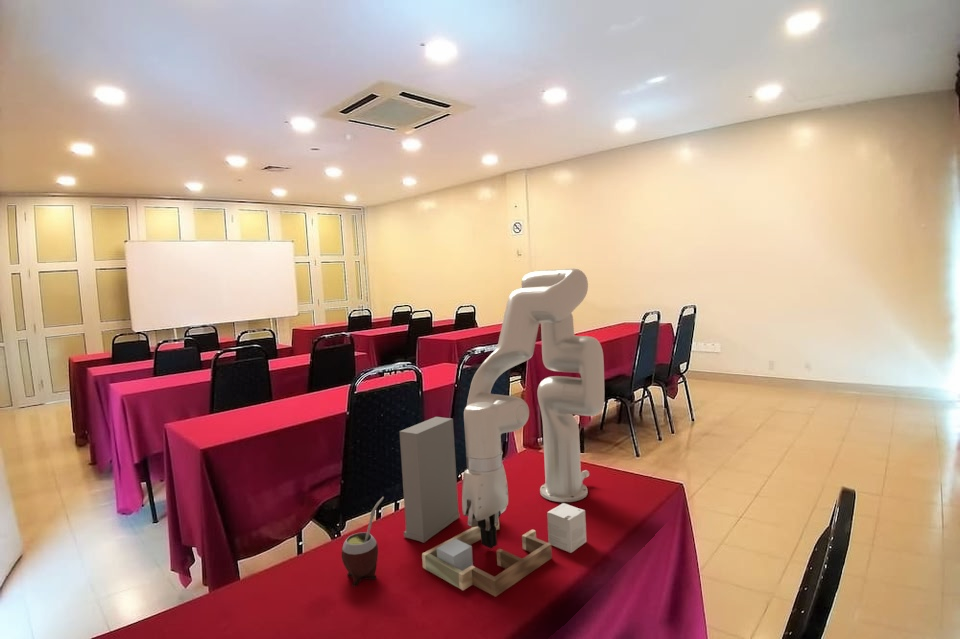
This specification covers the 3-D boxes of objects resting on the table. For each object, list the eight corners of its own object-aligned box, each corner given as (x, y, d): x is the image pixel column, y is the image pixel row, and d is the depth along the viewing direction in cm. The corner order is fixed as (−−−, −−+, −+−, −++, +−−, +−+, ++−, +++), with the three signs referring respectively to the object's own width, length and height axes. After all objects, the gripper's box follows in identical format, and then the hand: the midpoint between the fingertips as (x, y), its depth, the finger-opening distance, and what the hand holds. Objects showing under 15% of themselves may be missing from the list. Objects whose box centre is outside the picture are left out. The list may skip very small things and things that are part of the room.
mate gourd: (336, 585, 99) (331, 510, 98) (357, 563, 107) (351, 494, 106) (371, 589, 97) (366, 513, 96) (389, 567, 105) (384, 496, 104)
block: (456, 561, 106) (454, 538, 105) (473, 570, 102) (471, 546, 102) (438, 572, 102) (436, 548, 102) (454, 581, 99) (453, 556, 98)
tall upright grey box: (439, 513, 129) (433, 416, 127) (459, 518, 125) (453, 418, 124) (403, 537, 117) (396, 431, 115) (424, 543, 114) (416, 434, 112)
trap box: (496, 527, 119) (495, 515, 119) (559, 553, 107) (558, 539, 106) (422, 567, 104) (422, 553, 104) (486, 603, 91) (485, 587, 91)
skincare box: (564, 533, 115) (562, 502, 114) (587, 542, 110) (585, 509, 110) (547, 544, 110) (546, 511, 110) (571, 553, 106) (569, 519, 106)
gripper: (495, 448, 116) (499, 526, 117) (446, 468, 105) (451, 553, 106) (520, 455, 110) (525, 536, 112) (471, 476, 100) (476, 566, 101)
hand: (489, 544), depth 109 cm, fingers closed
